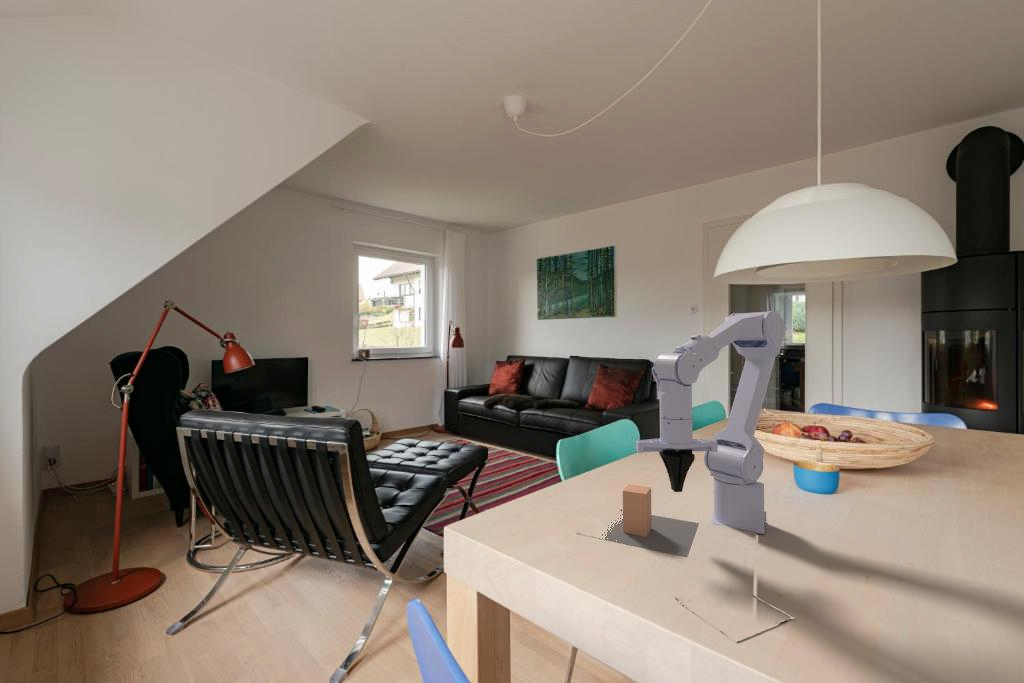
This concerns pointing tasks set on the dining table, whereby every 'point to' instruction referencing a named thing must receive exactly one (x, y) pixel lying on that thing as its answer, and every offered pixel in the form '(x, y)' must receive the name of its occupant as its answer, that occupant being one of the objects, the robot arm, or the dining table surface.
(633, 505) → the terracotta block
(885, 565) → the dining table surface
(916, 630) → the dining table surface
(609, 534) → the charcoal mat
